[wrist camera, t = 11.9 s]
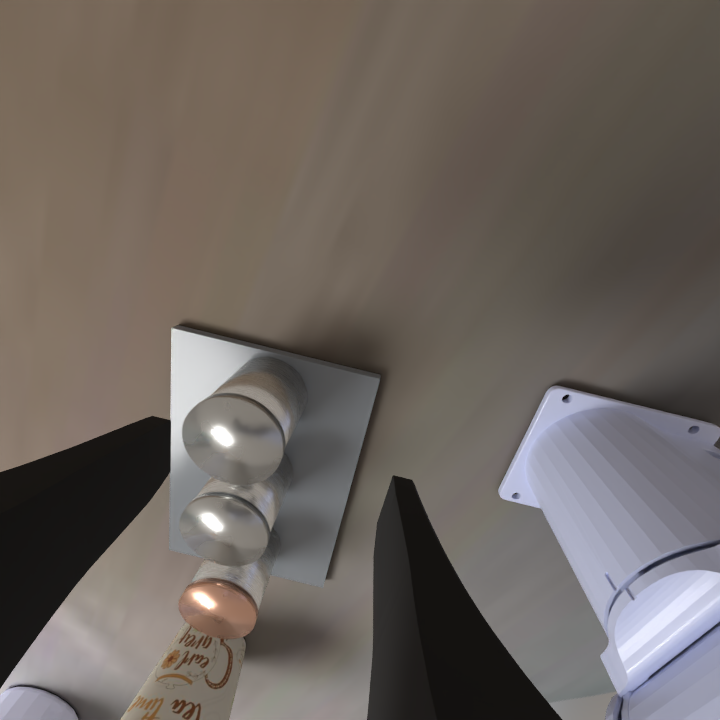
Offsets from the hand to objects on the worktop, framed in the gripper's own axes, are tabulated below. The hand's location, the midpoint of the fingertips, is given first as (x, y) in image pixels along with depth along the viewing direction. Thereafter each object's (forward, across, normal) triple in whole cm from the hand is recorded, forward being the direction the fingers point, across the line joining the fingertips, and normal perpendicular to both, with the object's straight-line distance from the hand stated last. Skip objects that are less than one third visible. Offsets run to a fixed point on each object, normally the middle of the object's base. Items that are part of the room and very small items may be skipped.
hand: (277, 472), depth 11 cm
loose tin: (+9, +3, +15) cm, 17 cm away
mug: (+10, +6, +31) cm, 33 cm away
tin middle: (+9, +3, +8) cm, 12 cm away
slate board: (+9, +3, +9) cm, 13 cm away
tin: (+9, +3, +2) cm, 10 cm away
